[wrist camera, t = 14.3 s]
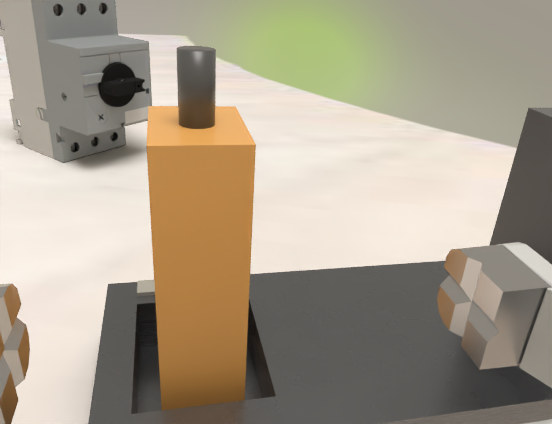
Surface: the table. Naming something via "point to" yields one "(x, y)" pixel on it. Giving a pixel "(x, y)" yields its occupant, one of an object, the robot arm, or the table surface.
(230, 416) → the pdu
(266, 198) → the table surface
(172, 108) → the plug
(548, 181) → the twin plug
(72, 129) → the circuit breaker
